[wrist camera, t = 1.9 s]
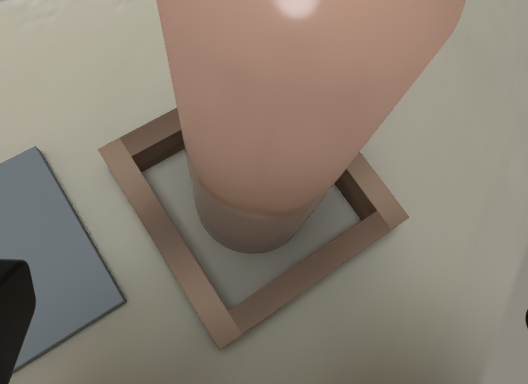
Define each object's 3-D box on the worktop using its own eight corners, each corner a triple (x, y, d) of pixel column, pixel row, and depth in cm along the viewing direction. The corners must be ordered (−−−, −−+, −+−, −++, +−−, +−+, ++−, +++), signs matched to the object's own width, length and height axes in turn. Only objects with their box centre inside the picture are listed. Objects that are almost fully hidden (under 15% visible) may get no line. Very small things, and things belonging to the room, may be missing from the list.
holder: (392, 227, 21) (409, 217, 19) (219, 347, 18) (219, 350, 16) (278, 74, 22) (283, 51, 21) (109, 166, 20) (97, 149, 18)
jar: (329, 214, 20) (530, 1, 7) (235, 275, 19) (269, 155, 6) (267, 127, 22) (343, -199, 8) (174, 180, 20) (87, -104, 7)
